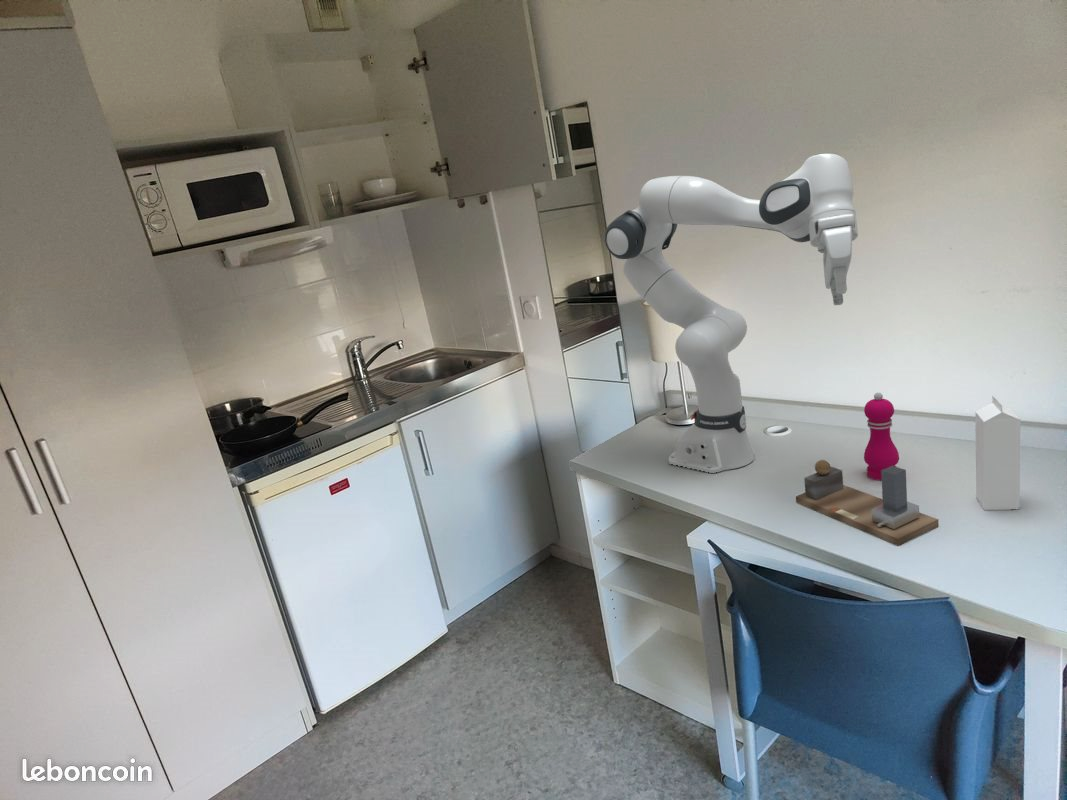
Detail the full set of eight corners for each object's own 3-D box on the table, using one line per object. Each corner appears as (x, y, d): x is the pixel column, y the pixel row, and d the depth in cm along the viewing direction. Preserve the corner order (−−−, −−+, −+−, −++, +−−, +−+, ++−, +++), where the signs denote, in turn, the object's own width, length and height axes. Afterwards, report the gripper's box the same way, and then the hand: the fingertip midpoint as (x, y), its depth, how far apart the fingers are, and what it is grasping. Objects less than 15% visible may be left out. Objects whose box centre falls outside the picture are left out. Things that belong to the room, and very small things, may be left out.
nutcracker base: (796, 502, 153) (792, 464, 150) (832, 486, 157) (830, 449, 154) (898, 545, 130) (896, 502, 127) (938, 526, 133) (937, 483, 131)
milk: (984, 510, 136) (983, 406, 130) (976, 497, 141) (975, 396, 135) (1019, 509, 134) (1020, 403, 128) (1009, 496, 139) (1010, 393, 133)
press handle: (868, 522, 136) (865, 474, 133) (897, 508, 139) (895, 461, 136) (889, 531, 132) (887, 481, 129) (919, 517, 134) (917, 468, 132)
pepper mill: (904, 479, 154) (900, 395, 148) (869, 482, 155) (864, 399, 150) (894, 467, 160) (891, 386, 155) (861, 469, 162) (856, 389, 157)
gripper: (814, 250, 149) (820, 312, 147) (818, 217, 130) (825, 288, 128) (846, 245, 146) (853, 308, 145) (854, 211, 127) (862, 283, 126)
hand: (840, 298), depth 136 cm, fingers open, 8 cm apart
